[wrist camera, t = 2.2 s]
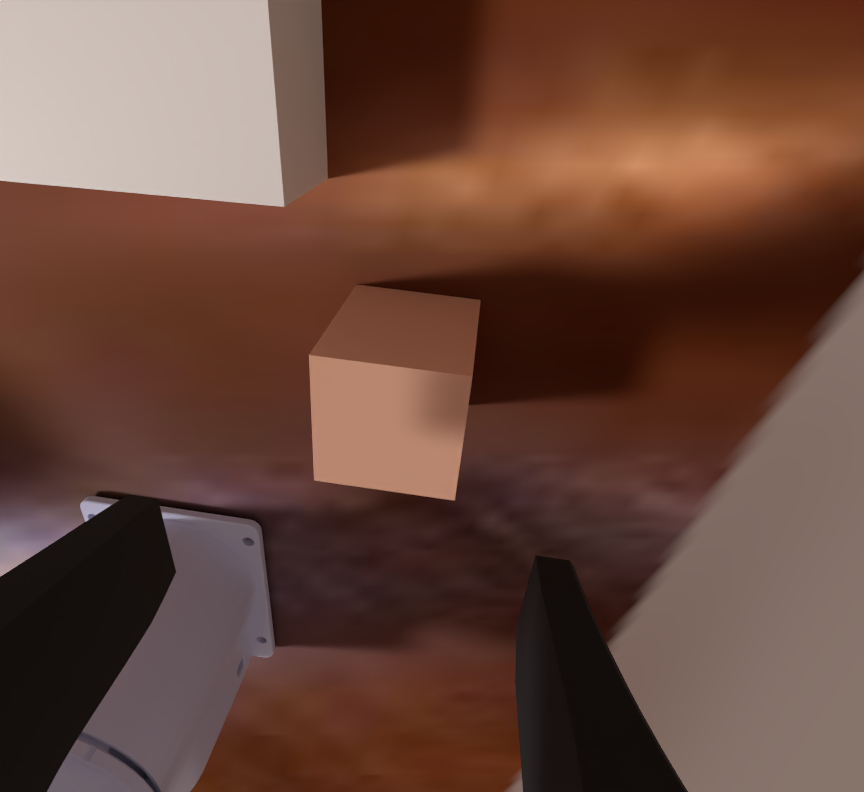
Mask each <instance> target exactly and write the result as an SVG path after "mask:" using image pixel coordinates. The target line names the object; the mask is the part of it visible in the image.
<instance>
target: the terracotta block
mask: <svg viewBox="0 0 864 792" xmlns="http://www.w3.org/2000/svg"><path fill="white" fill-rule="evenodd" d="M480 302H481V300H477V299H469V298H461V297H453V296H445V295H437V294H429V293H421V292H413V291H405V290H397V289H389V288H381V287H373V286H365V285H356V286H355V288H354V289H353V291H352V292H351V294H350V295H349V297H348V298H347V300H346V301H345V303H344V304H343V305H342V307H341V308H340V310H339V311H338V313H337V314H336V316H335V317H334V319H333V320H332V322H331V323H330V325H329V326H328V328H327V329H326V331H325V332H324V334H323V335H322V337H321V338H320V340H319V341H318V342H317V344H316V345H315V347H314V348H313V350H312V351H311V353H310V354H309V367H310V391H311V416H312V440H313V465H314V480H315V481H322V482H329V483H336V484H343V485H350V486H357V487H364V488H371V489H377V490H384V491H391V492H398V493H405V494H412V495H419V496H426V497H433V498H440V499H447V500H454V501H455V495H456V488H457V482H458V475H459V468H460V461H461V454H462V447H463V440H464V433H465V426H466V419H467V412H468V405H469V398H470V391H471V384H472V377H473V368H474V358H475V349H476V339H477V330H478V321H479V311H480Z"/></svg>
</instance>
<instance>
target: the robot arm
mask: <svg viewBox="0 0 864 792" xmlns="http://www.w3.org/2000/svg"><path fill="white" fill-rule="evenodd" d="M80 507H81V510H82V513H83V516H84V519H85V523H83V524H81V525H80V526H78V527H77V528H75V529H74V530H72V531H71V532H69V533H68V534H66V535H65V536H63V537H62V538H60V539H59V540H57V541H56V542H54V543H52V544H51V545H49V546H48V547H46V548H45V549H43V550H42V551H40V552H38V553H37V554H35V555H34V556H32V557H31V558H29V559H28V560H26V561H24V562H23V563H21V564H20V565H18V566H17V567H15V568H14V569H12V570H10V571H9V572H7V573H6V574H4V575H3V576H1V577H0V792H190V791H191V790H192V789H193V787H194V786H195V784H196V783H197V781H198V780H199V778H200V776H201V774H202V772H203V770H204V768H205V766H206V764H207V761H208V759H209V757H210V754H211V752H212V750H213V747H214V745H215V743H216V740H217V738H218V736H219V733H220V731H221V729H222V726H223V724H224V722H225V719H226V717H227V715H228V712H229V710H230V708H231V705H232V703H233V701H234V698H235V696H236V694H237V691H238V689H239V687H240V684H241V682H242V680H243V677H244V675H245V673H246V671H247V668H248V666H249V664H250V661H251V659H252V657H253V655H254V656H260V657H270V656H272V655H273V653H274V650H275V640H274V632H273V623H272V615H271V606H270V597H269V589H268V580H267V572H266V563H265V554H264V546H263V537H262V529H261V526H260V525H259V524H258V523H257V522H255V521H254V520H250V519H244V518H237V517H231V516H224V515H217V514H211V513H204V512H197V511H190V510H184V509H177V508H170V507H164V506H160V505H159V501H158V499H152V498H145V497H138V496H132V495H127V496H125V497H124V498H122V499H120V500H117V499H110V498H103V497H97V496H88V497H86V498H85V499H84V500H83V501H82V502H81V504H80ZM250 538H251V539H250ZM515 683H516V698H517V712H518V727H519V741H520V754H521V768H522V781H523V792H688V791H687V789H686V788H685V786H684V785H683V783H682V781H681V780H680V778H679V777H678V775H677V773H676V772H675V770H674V768H673V767H672V765H671V763H670V762H669V760H668V758H667V757H666V755H665V753H664V751H663V750H662V748H661V746H660V745H659V743H658V741H657V739H656V737H655V736H654V734H653V732H652V730H651V728H650V727H649V725H648V723H647V721H646V720H645V718H644V716H643V714H642V712H641V711H640V709H639V707H638V705H637V703H636V701H635V699H634V697H633V696H632V694H631V692H630V690H629V688H628V686H627V684H626V682H625V680H624V678H623V676H622V674H621V672H620V670H619V668H618V666H617V664H616V662H615V660H614V658H613V656H612V654H611V652H610V650H609V648H608V646H607V644H606V642H605V639H604V637H603V635H602V633H601V631H600V629H599V626H598V624H597V622H596V620H595V617H594V615H593V613H592V611H591V608H590V606H589V604H588V601H587V599H586V597H585V594H584V592H583V589H582V587H581V584H580V582H579V579H578V577H577V574H576V571H575V568H574V566H573V565H572V563H571V562H570V561H569V560H562V559H555V558H549V557H542V556H535V560H534V564H533V567H532V571H531V575H530V578H529V582H528V586H527V590H526V593H525V597H524V601H523V605H522V608H521V612H520V616H519V620H518V623H517V641H516V679H515Z"/></svg>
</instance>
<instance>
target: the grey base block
mask: <svg viewBox="0 0 864 792" xmlns="http://www.w3.org/2000/svg"><path fill="white" fill-rule="evenodd" d="M327 179H328V166H327V140H326V113H325V87H324V61H323V34H322V8H321V0H0V181H11V182H21V183H32V184H43V185H54V186H65V187H75V188H86V189H97V190H108V191H119V192H130V193H140V194H151V195H162V196H173V197H184V198H194V199H205V200H216V201H227V202H238V203H248V204H259V205H270V206H281V207H285V206H286V205H288V204H289V203H291V202H293V201H294V200H296V199H297V198H299V197H300V196H302V195H303V194H305V193H307V192H308V191H310V190H311V189H313V188H314V187H316V186H317V185H319V184H321V183H322V182H324V181H325V180H327Z"/></svg>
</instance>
